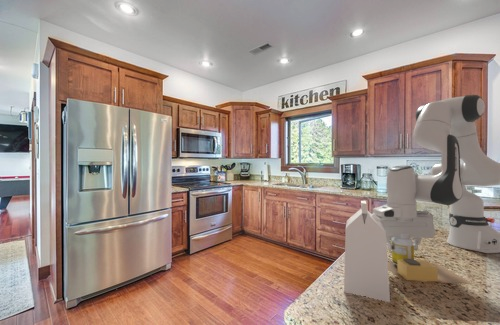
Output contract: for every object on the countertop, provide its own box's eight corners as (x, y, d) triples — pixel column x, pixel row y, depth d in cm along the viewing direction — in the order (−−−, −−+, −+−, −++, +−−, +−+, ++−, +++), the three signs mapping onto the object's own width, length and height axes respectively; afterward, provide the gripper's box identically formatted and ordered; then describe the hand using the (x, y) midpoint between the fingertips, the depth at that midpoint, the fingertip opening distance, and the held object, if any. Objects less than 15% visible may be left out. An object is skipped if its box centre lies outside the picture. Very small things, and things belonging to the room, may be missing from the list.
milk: (345, 274, 74) (344, 198, 75) (384, 281, 69) (382, 200, 70) (344, 292, 64) (342, 203, 64) (390, 302, 59) (387, 206, 59)
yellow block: (426, 273, 72) (425, 258, 72) (437, 281, 67) (437, 265, 67) (397, 272, 73) (397, 257, 73) (406, 280, 68) (406, 264, 68)
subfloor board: (437, 266, 79) (437, 263, 79) (472, 287, 65) (472, 283, 65) (380, 264, 81) (380, 261, 81) (402, 284, 67) (402, 280, 67)
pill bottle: (410, 262, 79) (409, 230, 80) (417, 270, 73) (416, 235, 73) (389, 259, 81) (389, 228, 82) (395, 267, 75) (394, 233, 76)
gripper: (426, 209, 80) (427, 246, 80) (368, 208, 82) (369, 245, 82) (439, 212, 74) (440, 253, 73) (376, 212, 76) (377, 252, 75)
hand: (402, 249), depth 77 cm, fingers closed on pill bottle, 6 cm apart
